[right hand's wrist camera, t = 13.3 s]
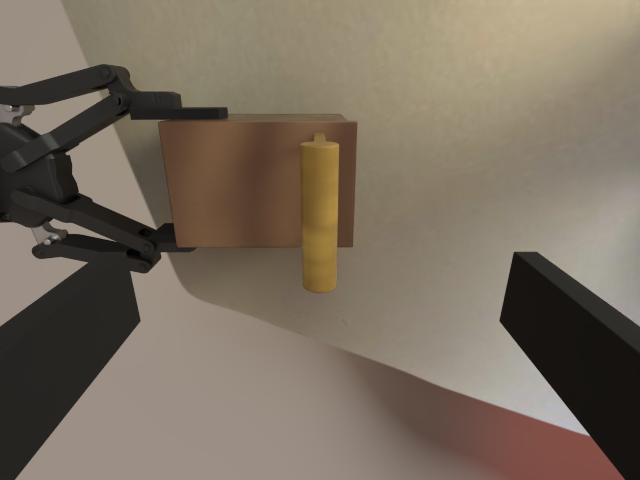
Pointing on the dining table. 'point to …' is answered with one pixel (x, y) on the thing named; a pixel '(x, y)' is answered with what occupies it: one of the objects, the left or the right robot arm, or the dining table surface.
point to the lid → (264, 187)
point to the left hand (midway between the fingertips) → (229, 176)
